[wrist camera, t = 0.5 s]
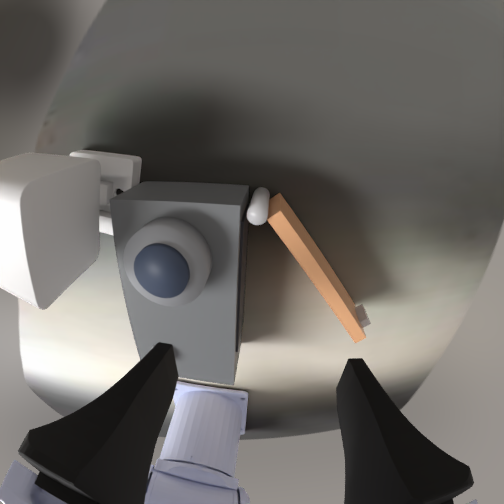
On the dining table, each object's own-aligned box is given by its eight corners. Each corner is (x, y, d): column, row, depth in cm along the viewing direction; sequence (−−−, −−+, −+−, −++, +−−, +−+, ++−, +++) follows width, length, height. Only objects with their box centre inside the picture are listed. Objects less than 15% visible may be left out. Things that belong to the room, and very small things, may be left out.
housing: (242, 343, 23) (232, 405, 17) (161, 332, 23) (135, 386, 17) (251, 185, 17) (238, 218, 11) (144, 181, 17) (90, 210, 12)
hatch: (250, 193, 17) (242, 212, 13) (278, 173, 16) (278, 188, 13) (337, 313, 20) (346, 350, 17) (361, 299, 20) (374, 335, 16)
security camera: (66, 142, 16) (-40, 174, 7) (143, 150, 16) (31, 188, 8) (65, 219, 19) (-22, 280, 10) (135, 237, 19) (52, 322, 10)
